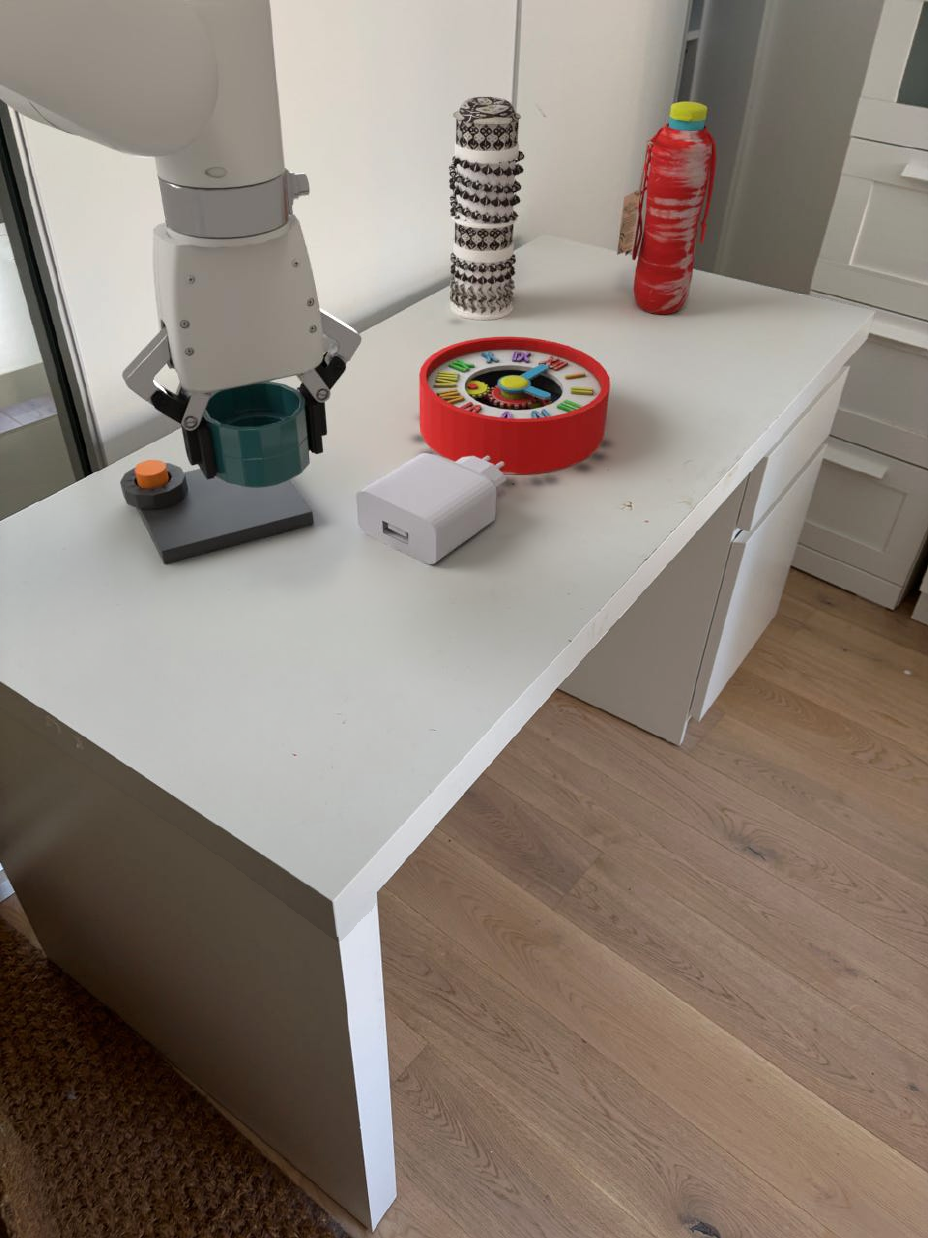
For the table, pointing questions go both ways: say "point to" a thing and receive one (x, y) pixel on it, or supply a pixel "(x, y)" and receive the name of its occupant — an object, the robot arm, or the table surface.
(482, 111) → the decorative candle
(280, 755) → the table surface
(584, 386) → the toy clock
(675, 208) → the water bottle
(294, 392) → the bowl
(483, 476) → the charger
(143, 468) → the button
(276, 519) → the dark grey flat slab
